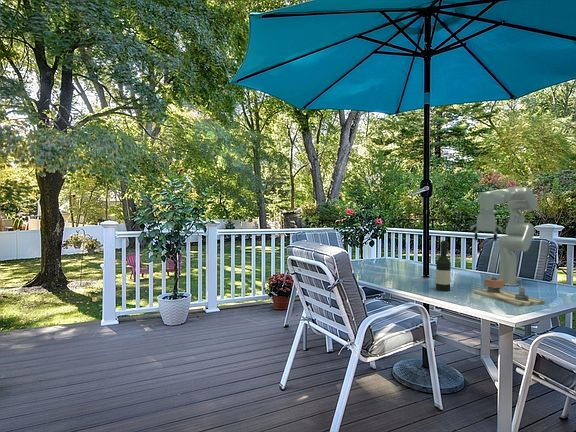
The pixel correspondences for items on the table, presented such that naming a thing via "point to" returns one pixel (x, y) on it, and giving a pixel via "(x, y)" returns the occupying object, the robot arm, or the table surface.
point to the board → (509, 296)
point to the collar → (494, 283)
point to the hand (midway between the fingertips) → (485, 240)
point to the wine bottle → (443, 270)
